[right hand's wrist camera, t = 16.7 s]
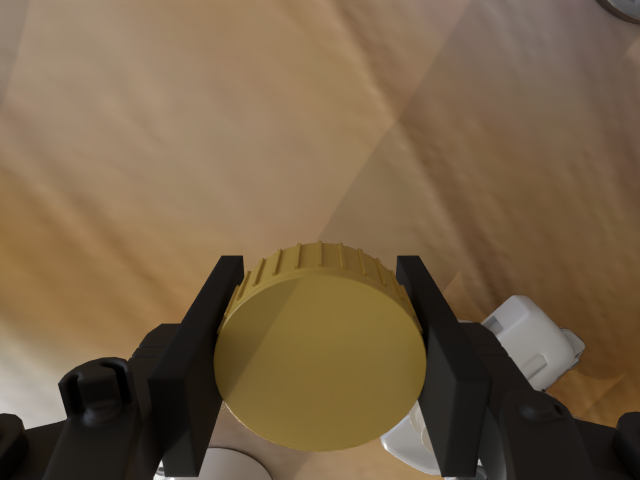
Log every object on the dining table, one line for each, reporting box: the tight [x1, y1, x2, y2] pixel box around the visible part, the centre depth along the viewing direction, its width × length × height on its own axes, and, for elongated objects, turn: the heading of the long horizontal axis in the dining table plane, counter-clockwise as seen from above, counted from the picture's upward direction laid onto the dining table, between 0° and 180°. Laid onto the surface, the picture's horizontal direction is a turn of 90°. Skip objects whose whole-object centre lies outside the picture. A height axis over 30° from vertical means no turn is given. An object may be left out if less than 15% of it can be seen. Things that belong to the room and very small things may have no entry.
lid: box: [213, 241, 427, 452], centre depth 11 cm, size 6×6×2 cm
